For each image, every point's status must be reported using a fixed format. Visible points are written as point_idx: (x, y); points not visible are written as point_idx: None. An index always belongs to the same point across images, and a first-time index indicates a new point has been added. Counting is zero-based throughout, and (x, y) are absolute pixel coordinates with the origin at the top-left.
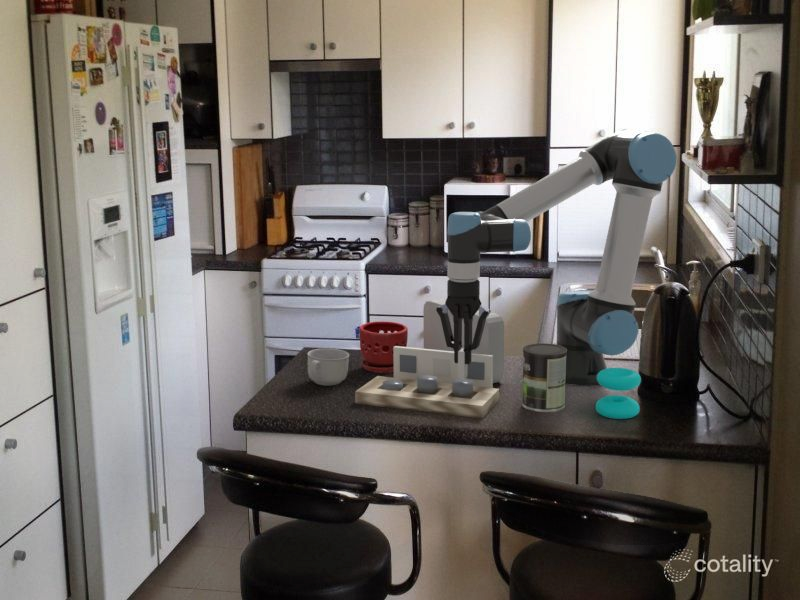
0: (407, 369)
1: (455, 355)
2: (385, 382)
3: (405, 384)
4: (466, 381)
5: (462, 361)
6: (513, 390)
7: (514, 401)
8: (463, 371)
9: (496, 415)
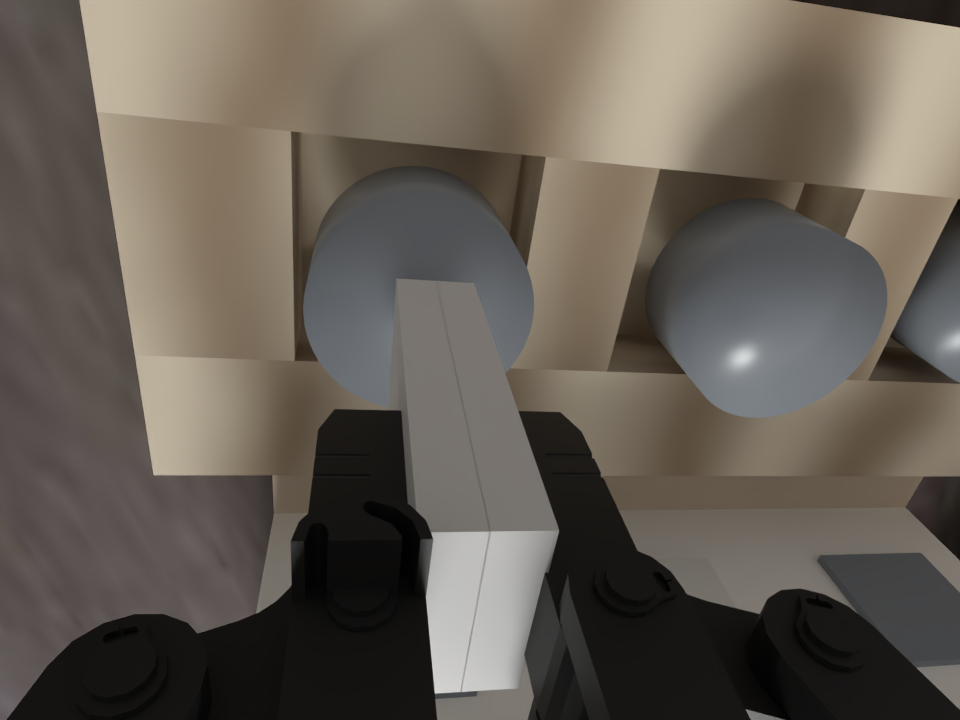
0: (886, 569)
1: (588, 492)
2: None
3: (887, 378)
4: (388, 340)
5: (435, 402)
6: (175, 607)
7: (63, 433)
8: (406, 320)
9: (26, 45)
